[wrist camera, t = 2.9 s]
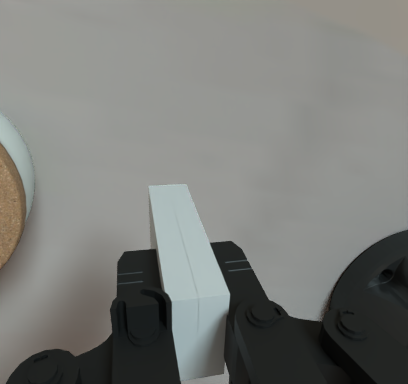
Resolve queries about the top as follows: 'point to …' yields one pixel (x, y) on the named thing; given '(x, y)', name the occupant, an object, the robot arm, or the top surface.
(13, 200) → the lidded jar
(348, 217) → the top surface
